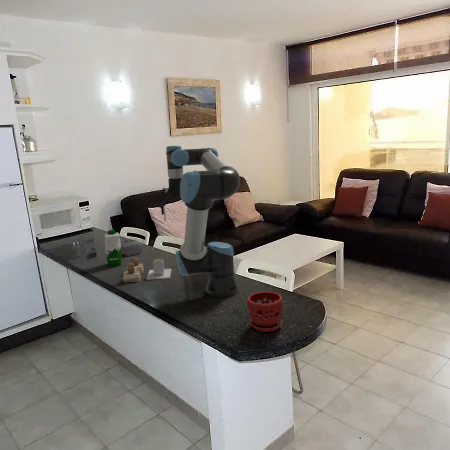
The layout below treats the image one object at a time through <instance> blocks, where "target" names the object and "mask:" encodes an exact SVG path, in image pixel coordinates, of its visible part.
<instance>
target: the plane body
mask: <svg viewBox="0 0 450 450" xmlns="http://www.w3.org/2000/svg"><path fill="white" fill-rule="evenodd" d="M130 261H131V262H128V263H127V265H126V271H124V272H123V273H122V279H123V283H131V282H133V283H136V282H140V281H141V279H142V277H141V274H143V273H144V263H139V258H138V257H131V258H130Z"/></svg>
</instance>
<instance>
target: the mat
mask: <svg viewBox="0 0 450 450" xmlns="http://www.w3.org/2000/svg"><path fill="white" fill-rule="evenodd" d="M164 271H165V272H164V275H158V276H154V269H149V271H148V274H147V276H146V280H147V281H149V280H150V281H151V280H166V279H167V280H168V279H171V274H172V268H164Z"/></svg>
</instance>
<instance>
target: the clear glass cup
mask: <svg viewBox="0 0 450 450" xmlns="http://www.w3.org/2000/svg"><path fill="white" fill-rule="evenodd" d="M164 261H165V260H164V259H163V258H162V259H161V258H156V259H153V262H152V265H153V270H154V276H158V275H164V272H165V271H164V269H165V262H164Z"/></svg>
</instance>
